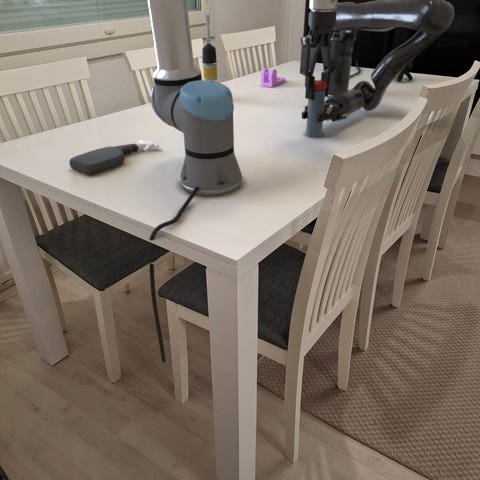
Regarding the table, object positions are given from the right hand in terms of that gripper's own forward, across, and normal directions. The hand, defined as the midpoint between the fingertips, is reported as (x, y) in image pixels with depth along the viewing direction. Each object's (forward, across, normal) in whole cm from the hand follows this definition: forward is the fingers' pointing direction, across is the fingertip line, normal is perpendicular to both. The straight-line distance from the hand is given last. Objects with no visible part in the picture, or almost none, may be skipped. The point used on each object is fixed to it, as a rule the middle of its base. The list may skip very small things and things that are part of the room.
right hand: (310, 117), depth 135 cm
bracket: (-48, -53, +6) cm, 72 cm away
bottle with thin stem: (-12, -56, +6) cm, 58 cm away
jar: (-3, 0, +6) cm, 7 cm away
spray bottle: (+50, -30, +6) cm, 58 cm away
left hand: (-3, 0, -6) cm, 6 cm away
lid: (-3, 0, -10) cm, 10 cm away
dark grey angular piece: (-89, -14, +6) cm, 90 cm away
